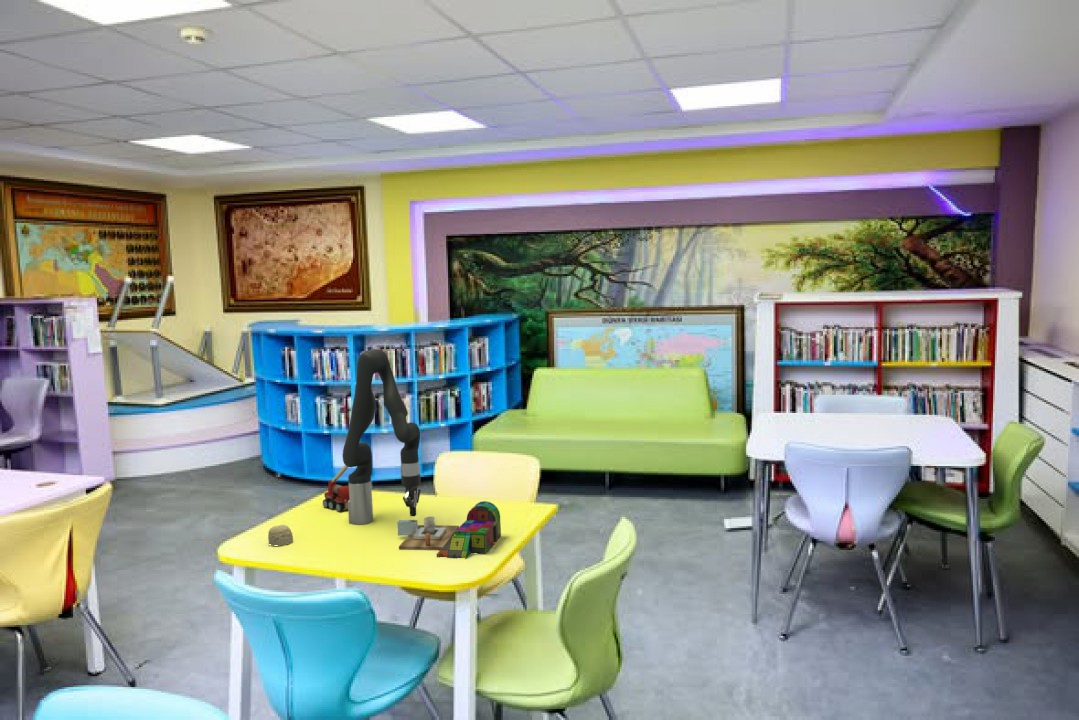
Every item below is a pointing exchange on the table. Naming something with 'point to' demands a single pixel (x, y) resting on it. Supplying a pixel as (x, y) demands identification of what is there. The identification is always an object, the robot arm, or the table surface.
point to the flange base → (433, 543)
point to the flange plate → (416, 530)
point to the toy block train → (475, 532)
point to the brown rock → (280, 535)
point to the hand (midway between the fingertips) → (413, 515)
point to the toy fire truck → (337, 494)
